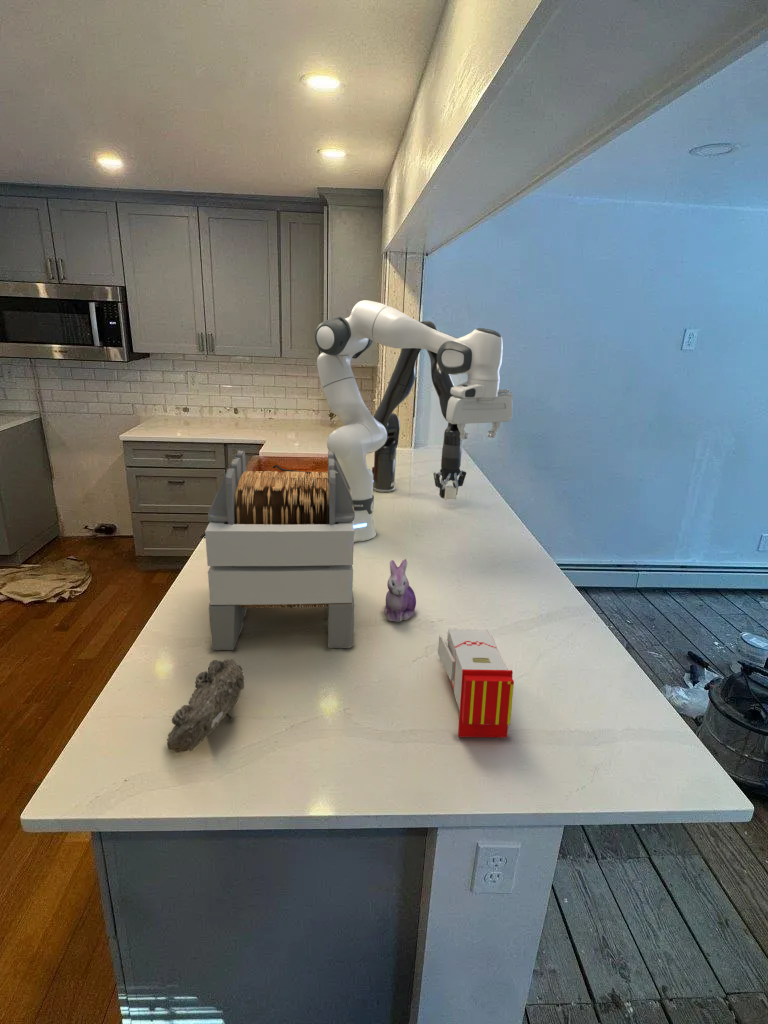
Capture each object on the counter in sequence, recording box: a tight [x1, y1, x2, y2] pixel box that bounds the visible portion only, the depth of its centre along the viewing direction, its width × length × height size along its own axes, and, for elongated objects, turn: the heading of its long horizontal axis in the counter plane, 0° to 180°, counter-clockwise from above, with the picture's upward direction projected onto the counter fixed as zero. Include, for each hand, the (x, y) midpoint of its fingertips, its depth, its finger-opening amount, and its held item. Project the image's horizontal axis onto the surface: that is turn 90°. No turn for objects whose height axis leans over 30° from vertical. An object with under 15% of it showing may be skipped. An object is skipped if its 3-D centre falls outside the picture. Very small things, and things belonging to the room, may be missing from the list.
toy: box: [437, 628, 515, 738], centre depth 117 cm, size 12×13×30 cm
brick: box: [442, 484, 458, 501], centre depth 225 cm, size 5×5×4 cm
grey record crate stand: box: [204, 449, 355, 652], centre depth 138 cm, size 34×33×41 cm
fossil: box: [166, 658, 245, 754], centre depth 106 cm, size 22×10×15 cm
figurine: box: [384, 558, 417, 623], centre depth 145 cm, size 9×10×15 cm
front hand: (477, 438), depth 164 cm, fingers open, 8 cm apart
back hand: (448, 496), depth 226 cm, fingers closed on brick, 4 cm apart
